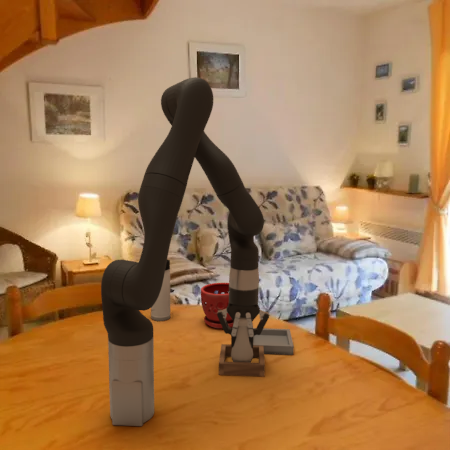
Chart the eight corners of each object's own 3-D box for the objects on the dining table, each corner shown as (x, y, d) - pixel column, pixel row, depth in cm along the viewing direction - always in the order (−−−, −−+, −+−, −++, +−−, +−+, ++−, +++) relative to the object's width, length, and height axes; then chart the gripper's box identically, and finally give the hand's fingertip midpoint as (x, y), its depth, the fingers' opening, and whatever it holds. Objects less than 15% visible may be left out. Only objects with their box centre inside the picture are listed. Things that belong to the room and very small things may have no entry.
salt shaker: (251, 369, 120) (252, 321, 117) (228, 367, 121) (229, 318, 119) (254, 359, 125) (255, 313, 123) (233, 357, 126) (234, 311, 124)
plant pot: (233, 314, 159) (234, 279, 157) (247, 329, 147) (248, 292, 145) (195, 318, 155) (196, 283, 153) (207, 333, 143) (207, 295, 141)
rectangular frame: (264, 376, 118) (264, 365, 117) (218, 374, 118) (218, 363, 118) (263, 355, 129) (263, 345, 128) (221, 354, 129) (221, 344, 129)
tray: (293, 354, 130) (293, 346, 129) (249, 353, 130) (249, 344, 130) (289, 337, 141) (289, 329, 141) (249, 335, 142) (249, 327, 142)
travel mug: (148, 320, 152) (147, 260, 149) (154, 313, 159) (153, 255, 155) (166, 322, 151) (166, 261, 148) (172, 315, 158) (172, 256, 154)
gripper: (215, 288, 116) (214, 354, 119) (272, 290, 115) (269, 356, 118) (217, 279, 123) (216, 341, 126) (271, 281, 123) (268, 343, 126)
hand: (242, 348), depth 122 cm, fingers closed on salt shaker, 3 cm apart
